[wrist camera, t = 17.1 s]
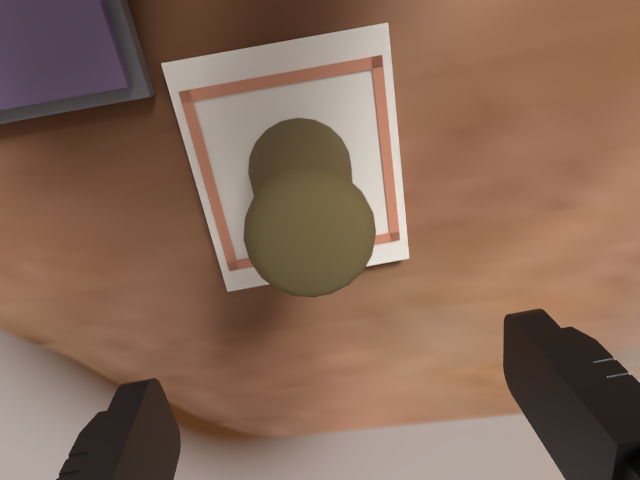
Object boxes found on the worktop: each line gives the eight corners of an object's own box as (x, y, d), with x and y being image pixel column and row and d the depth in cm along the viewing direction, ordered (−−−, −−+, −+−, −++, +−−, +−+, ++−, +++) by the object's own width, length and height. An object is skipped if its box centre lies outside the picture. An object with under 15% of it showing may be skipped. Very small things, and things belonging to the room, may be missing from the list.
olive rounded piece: (243, 119, 25) (217, 175, 15) (351, 115, 25) (399, 165, 15) (252, 221, 27) (237, 327, 17) (351, 215, 28) (392, 316, 18)
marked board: (165, 62, 24) (160, 63, 23) (384, 23, 24) (388, 22, 23) (229, 284, 30) (227, 292, 29) (405, 251, 30) (409, 259, 29)
